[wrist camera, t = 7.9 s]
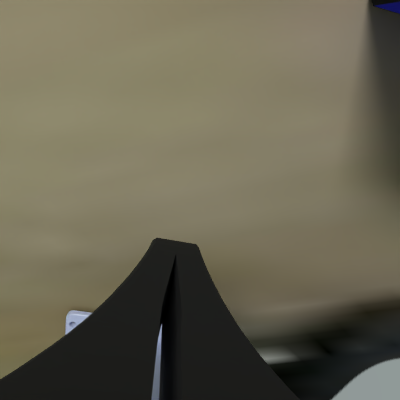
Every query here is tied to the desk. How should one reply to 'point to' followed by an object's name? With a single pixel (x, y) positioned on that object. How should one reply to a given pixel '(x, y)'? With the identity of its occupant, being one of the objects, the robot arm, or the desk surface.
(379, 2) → the puzzle cube
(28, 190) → the desk surface
